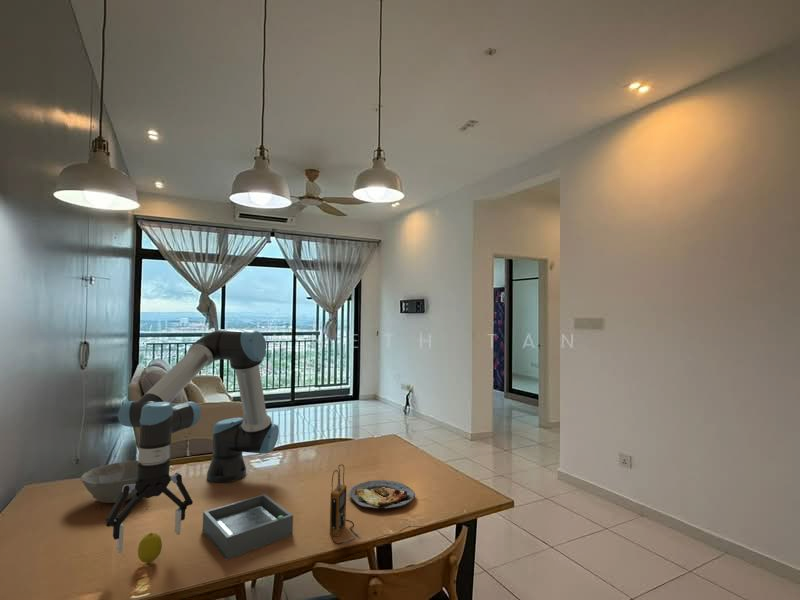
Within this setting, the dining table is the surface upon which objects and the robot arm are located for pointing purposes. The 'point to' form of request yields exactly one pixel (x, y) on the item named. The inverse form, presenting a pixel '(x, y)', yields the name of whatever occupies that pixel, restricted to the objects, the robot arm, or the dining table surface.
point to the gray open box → (249, 537)
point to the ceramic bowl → (111, 480)
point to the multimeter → (338, 509)
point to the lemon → (149, 548)
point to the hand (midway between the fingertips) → (149, 541)
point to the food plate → (371, 500)
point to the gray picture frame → (245, 520)
